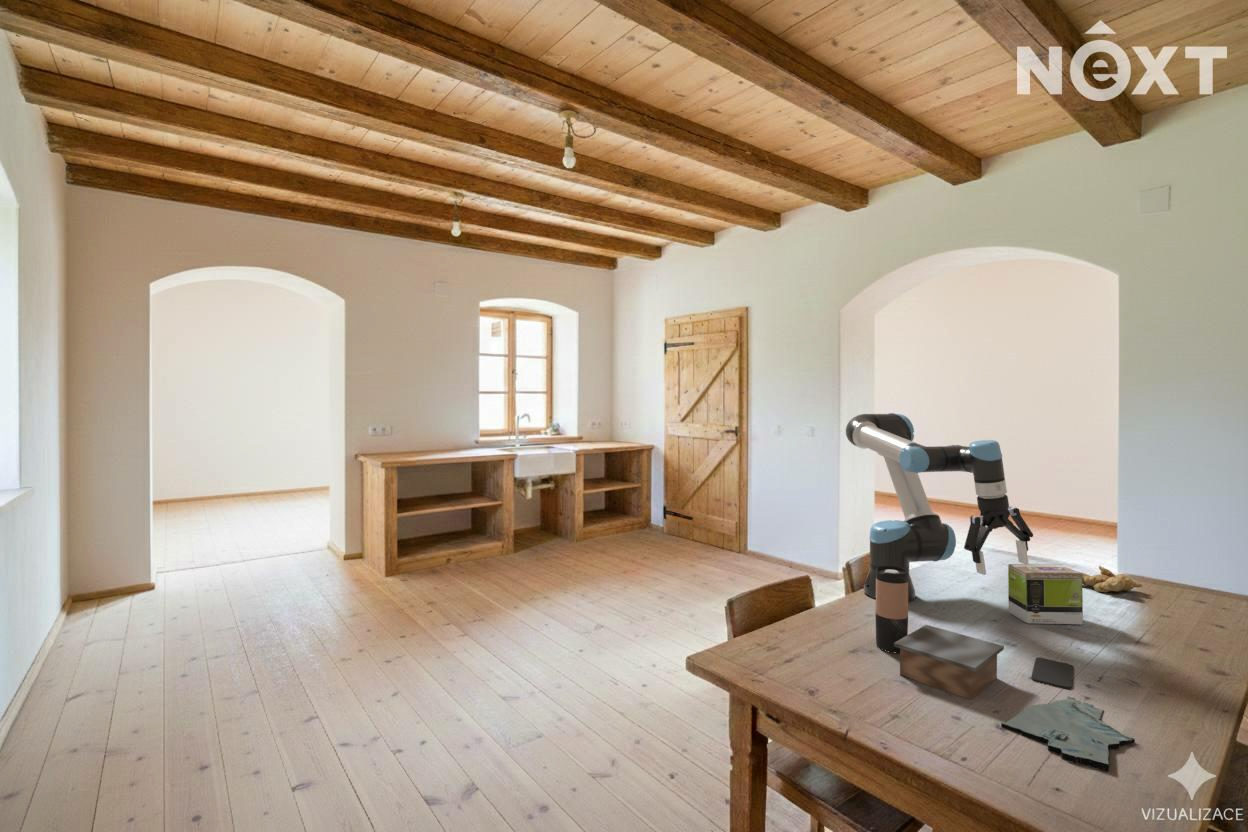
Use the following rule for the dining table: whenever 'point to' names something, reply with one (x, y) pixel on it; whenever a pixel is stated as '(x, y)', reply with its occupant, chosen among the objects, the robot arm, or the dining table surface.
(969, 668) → the podium
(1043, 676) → the phone
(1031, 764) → the dining table surface
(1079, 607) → the tea box
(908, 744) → the dining table surface
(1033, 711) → the decorative slab
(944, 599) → the dining table surface
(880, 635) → the travel mug
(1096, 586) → the ginger root
